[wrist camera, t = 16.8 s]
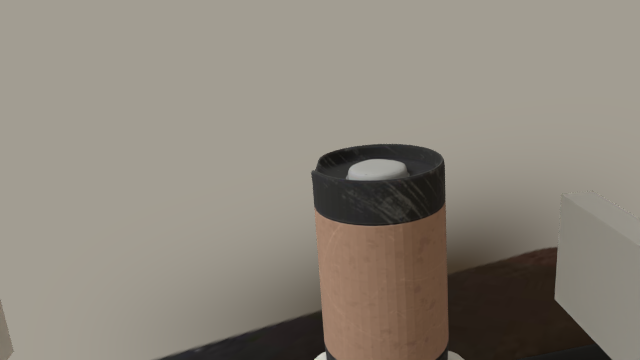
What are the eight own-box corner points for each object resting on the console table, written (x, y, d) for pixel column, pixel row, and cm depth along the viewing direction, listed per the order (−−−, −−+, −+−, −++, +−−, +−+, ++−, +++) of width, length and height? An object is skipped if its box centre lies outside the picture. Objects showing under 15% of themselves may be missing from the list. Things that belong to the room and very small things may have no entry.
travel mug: (474, 452, 37) (476, 157, 31) (386, 517, 33) (369, 192, 27) (394, 394, 43) (382, 137, 37) (311, 443, 39) (283, 163, 33)
